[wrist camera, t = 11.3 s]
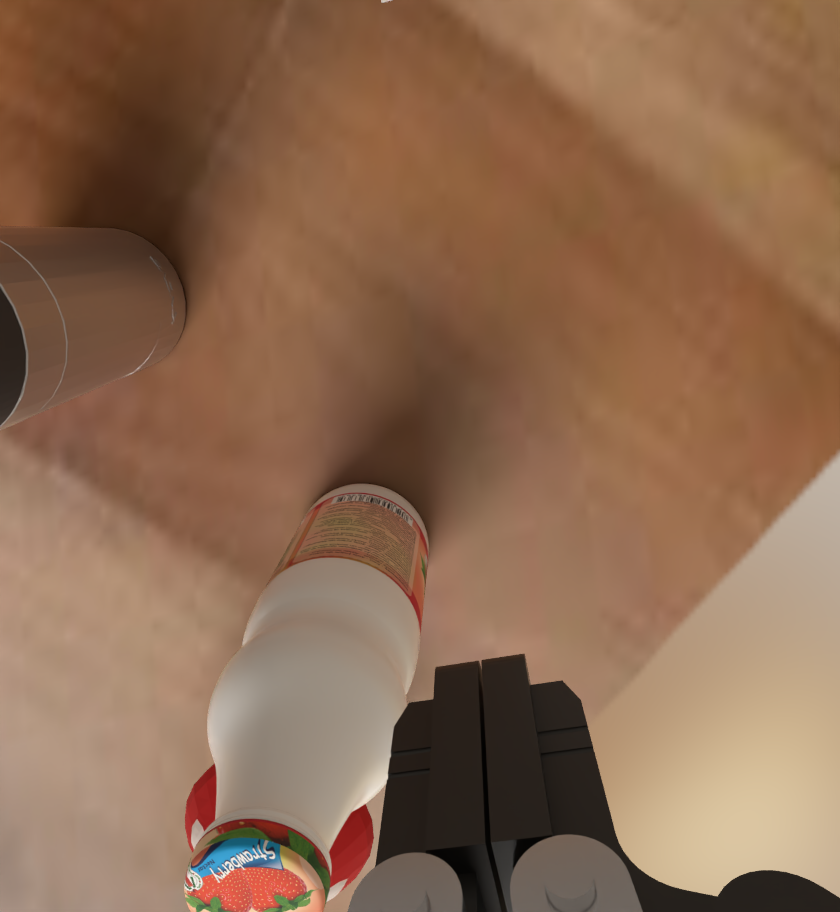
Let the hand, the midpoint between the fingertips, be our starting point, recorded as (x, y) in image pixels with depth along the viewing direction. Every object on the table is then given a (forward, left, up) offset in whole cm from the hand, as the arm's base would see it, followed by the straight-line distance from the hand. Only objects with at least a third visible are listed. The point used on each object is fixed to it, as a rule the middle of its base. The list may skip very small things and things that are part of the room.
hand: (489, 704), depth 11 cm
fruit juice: (-10, -12, -35) cm, 38 cm away
